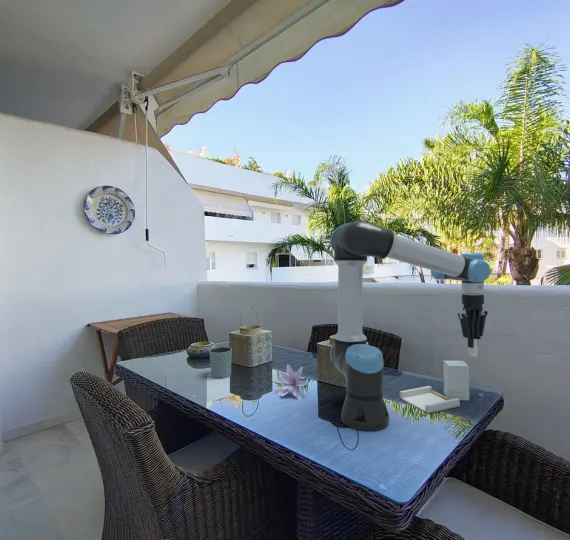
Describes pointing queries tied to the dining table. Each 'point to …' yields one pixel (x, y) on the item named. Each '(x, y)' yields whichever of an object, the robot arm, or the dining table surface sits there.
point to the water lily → (290, 382)
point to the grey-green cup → (220, 362)
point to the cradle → (427, 400)
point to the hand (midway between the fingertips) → (473, 355)
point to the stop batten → (440, 395)
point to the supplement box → (456, 380)
